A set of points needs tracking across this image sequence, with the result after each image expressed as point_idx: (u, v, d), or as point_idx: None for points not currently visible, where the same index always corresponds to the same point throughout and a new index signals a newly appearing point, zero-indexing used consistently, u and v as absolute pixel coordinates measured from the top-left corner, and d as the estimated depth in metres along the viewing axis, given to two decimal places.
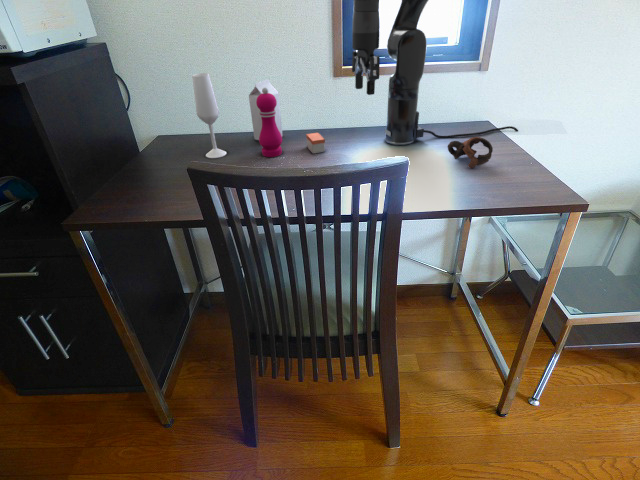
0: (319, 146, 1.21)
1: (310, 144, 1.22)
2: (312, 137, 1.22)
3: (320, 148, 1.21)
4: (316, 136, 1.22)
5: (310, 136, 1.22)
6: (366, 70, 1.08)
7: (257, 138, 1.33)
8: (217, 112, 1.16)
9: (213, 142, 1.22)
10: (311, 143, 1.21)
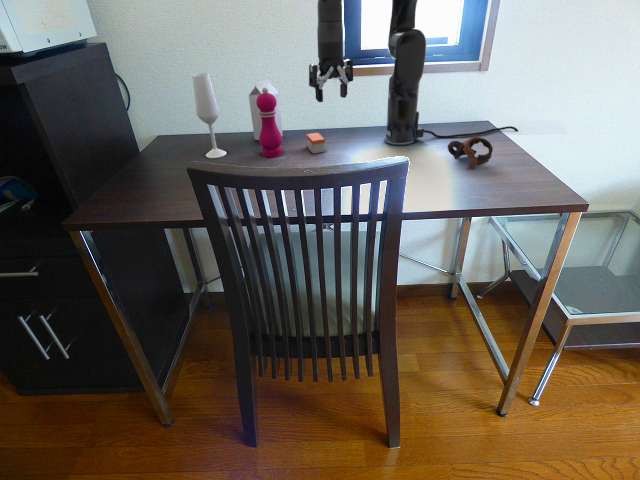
0: (319, 146, 1.21)
1: (310, 144, 1.22)
2: (312, 137, 1.22)
3: (320, 148, 1.21)
4: (316, 136, 1.22)
5: (310, 136, 1.22)
6: (318, 77, 1.12)
7: (257, 138, 1.33)
8: (217, 112, 1.16)
9: (213, 142, 1.22)
10: (311, 143, 1.21)
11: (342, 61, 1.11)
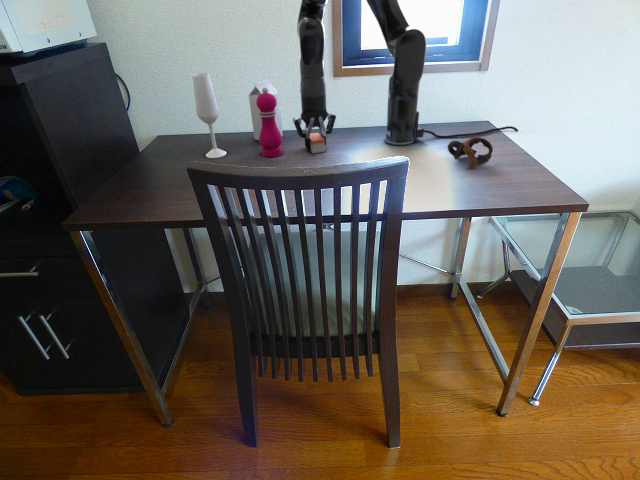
0: (319, 146, 1.21)
1: None
2: (312, 137, 1.22)
3: (320, 148, 1.21)
4: (316, 136, 1.22)
5: (310, 136, 1.22)
6: (305, 127, 1.21)
7: (257, 138, 1.33)
8: (217, 112, 1.16)
9: (213, 142, 1.22)
10: (311, 143, 1.21)
11: (325, 112, 1.18)
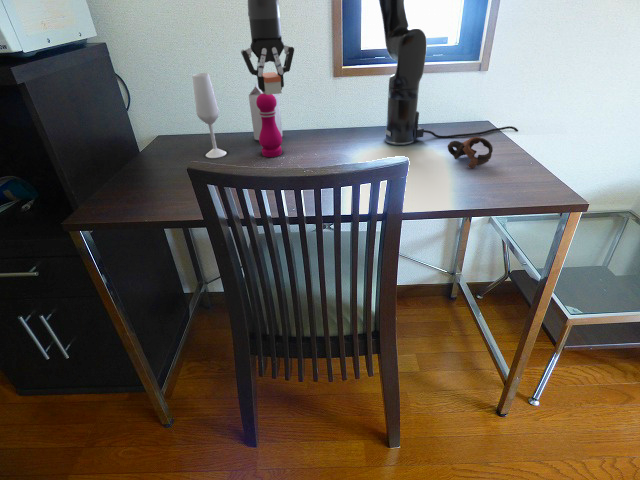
0: (274, 86, 1.00)
1: (264, 84, 1.01)
2: (266, 75, 1.00)
3: (275, 88, 1.00)
4: (271, 74, 1.01)
5: (264, 74, 1.01)
6: (257, 63, 1.00)
7: (257, 138, 1.33)
8: (217, 112, 1.16)
9: (213, 142, 1.22)
10: (264, 82, 0.99)
11: (281, 43, 0.97)
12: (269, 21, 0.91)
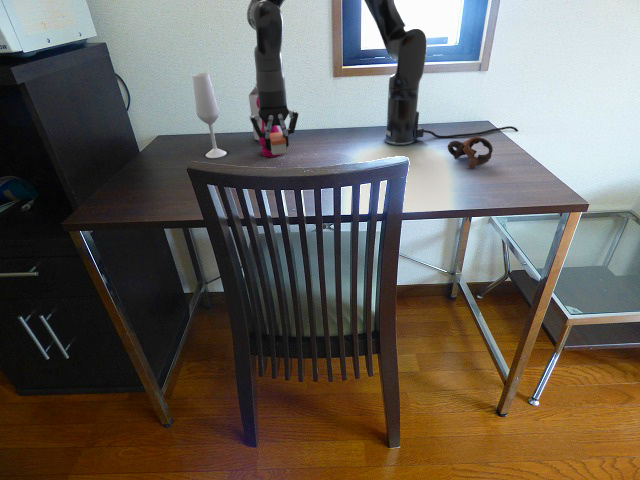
0: (280, 147, 1.09)
1: None
2: (272, 137, 1.09)
3: (281, 149, 1.09)
4: (277, 136, 1.10)
5: (270, 136, 1.10)
6: (264, 126, 1.09)
7: (257, 138, 1.33)
8: (217, 112, 1.16)
9: (213, 142, 1.22)
10: (271, 144, 1.08)
11: (286, 109, 1.06)
12: (276, 93, 1.00)
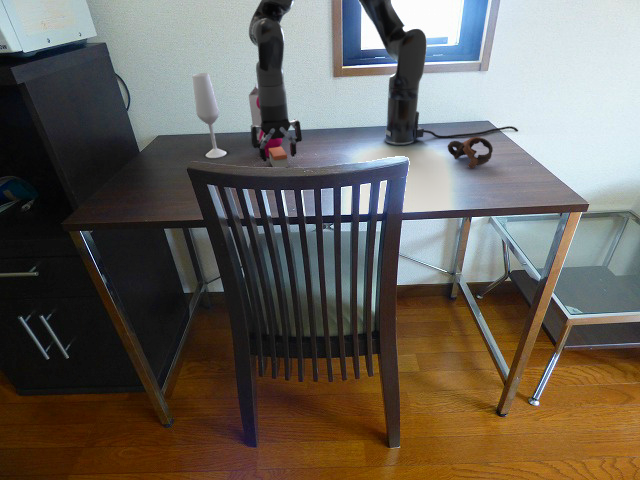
0: (281, 162, 1.11)
1: (272, 159, 1.12)
2: (274, 152, 1.12)
3: (282, 164, 1.12)
4: (279, 151, 1.13)
5: (272, 151, 1.13)
6: (262, 136, 1.10)
7: (257, 138, 1.33)
8: (217, 112, 1.16)
9: (213, 142, 1.22)
10: (272, 159, 1.11)
11: (287, 122, 1.08)
12: (277, 107, 1.02)
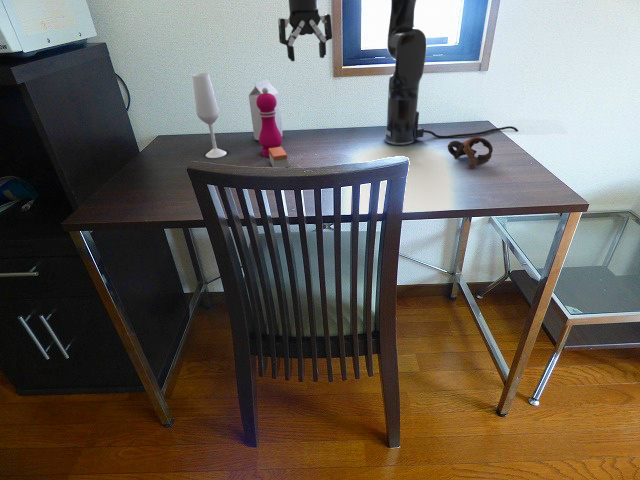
0: (281, 162, 1.11)
1: (272, 159, 1.12)
2: (274, 152, 1.12)
3: (282, 164, 1.12)
4: (279, 151, 1.13)
5: (272, 151, 1.13)
6: (290, 33, 1.03)
7: (257, 138, 1.33)
8: (217, 112, 1.16)
9: (213, 142, 1.22)
10: (272, 159, 1.11)
11: (317, 15, 1.01)
12: None
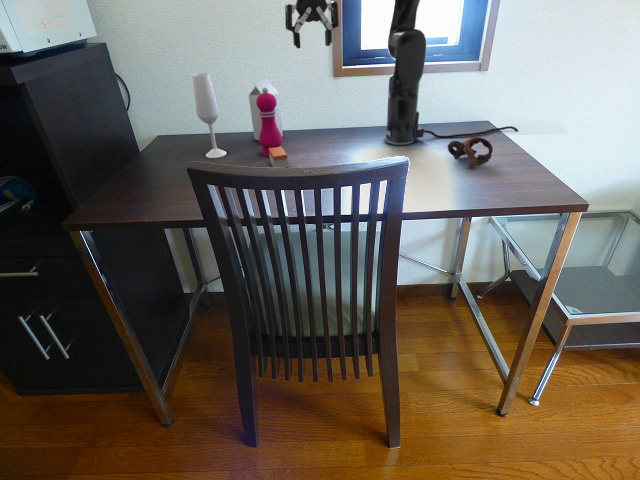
0: (281, 162, 1.11)
1: (272, 159, 1.12)
2: (274, 152, 1.12)
3: (282, 164, 1.12)
4: (279, 151, 1.13)
5: (272, 151, 1.13)
6: (296, 20, 1.03)
7: (257, 138, 1.33)
8: (217, 112, 1.16)
9: (213, 142, 1.22)
10: (272, 159, 1.11)
11: (324, 2, 1.01)
12: None
